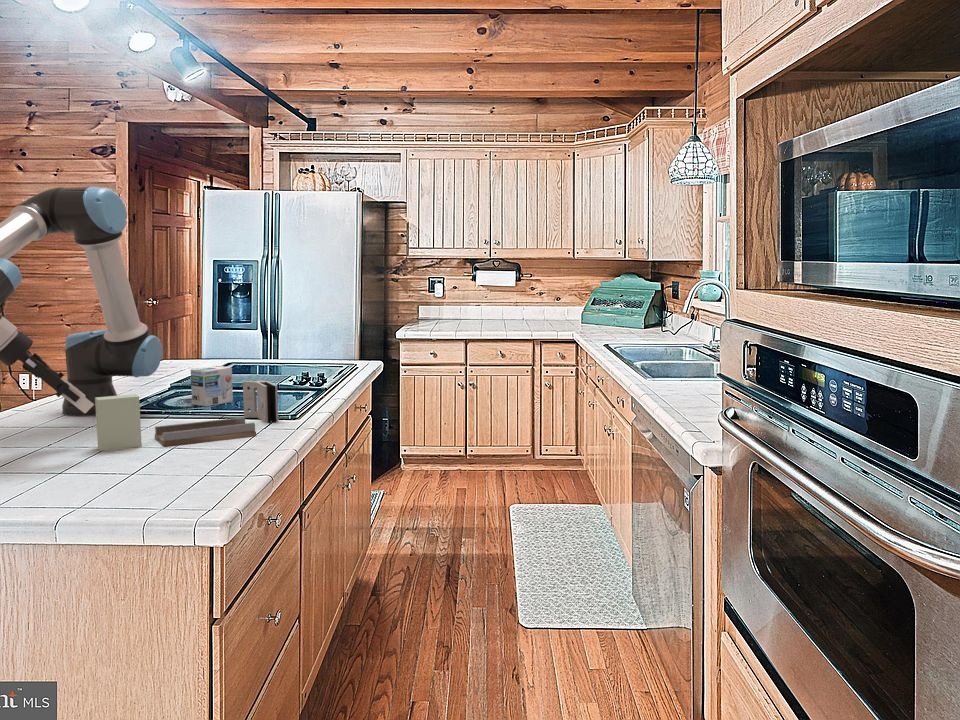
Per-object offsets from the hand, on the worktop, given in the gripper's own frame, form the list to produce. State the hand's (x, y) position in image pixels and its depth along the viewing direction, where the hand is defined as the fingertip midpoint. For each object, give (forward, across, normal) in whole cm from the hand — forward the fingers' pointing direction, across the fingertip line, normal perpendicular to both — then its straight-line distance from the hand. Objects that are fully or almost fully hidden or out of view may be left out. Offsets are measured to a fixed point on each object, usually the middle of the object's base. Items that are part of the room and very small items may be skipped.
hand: (85, 404), depth 193 cm
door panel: (+13, -1, -3) cm, 13 cm away
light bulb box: (+36, -47, +21) cm, 63 cm away
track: (+27, -1, +11) cm, 29 cm away
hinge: (+40, -16, +25) cm, 50 cm away
